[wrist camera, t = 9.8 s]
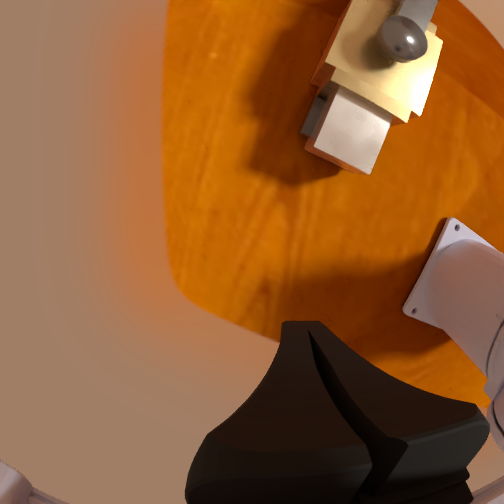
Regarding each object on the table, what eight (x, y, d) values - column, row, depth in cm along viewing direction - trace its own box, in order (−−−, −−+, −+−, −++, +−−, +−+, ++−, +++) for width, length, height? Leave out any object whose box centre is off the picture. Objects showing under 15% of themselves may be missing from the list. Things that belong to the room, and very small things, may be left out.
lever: (404, 75, 12) (426, 64, 9) (364, 48, 11) (382, 32, 9) (440, -12, 10) (459, -26, 7) (408, -35, 9) (424, -52, 7)
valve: (421, 21, 14) (456, -3, 9) (363, 180, 18) (398, 187, 13) (355, -17, 14) (377, -52, 9) (283, 141, 17) (294, 134, 12)
